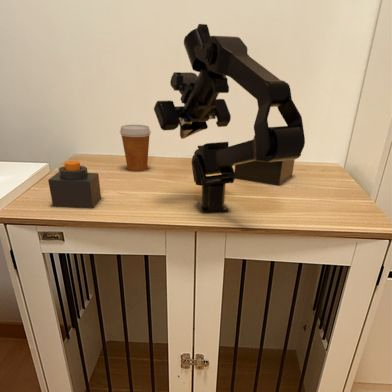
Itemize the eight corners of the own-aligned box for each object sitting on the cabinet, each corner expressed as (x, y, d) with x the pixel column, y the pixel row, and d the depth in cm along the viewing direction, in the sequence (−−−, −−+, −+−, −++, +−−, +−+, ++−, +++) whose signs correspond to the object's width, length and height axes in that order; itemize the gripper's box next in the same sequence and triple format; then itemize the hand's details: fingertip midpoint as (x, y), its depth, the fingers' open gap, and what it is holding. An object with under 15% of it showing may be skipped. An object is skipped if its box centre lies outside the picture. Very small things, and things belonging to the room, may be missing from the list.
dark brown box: (249, 169, 135) (251, 147, 131) (292, 176, 130) (295, 153, 126) (234, 178, 126) (235, 154, 122) (279, 185, 121) (282, 160, 117)
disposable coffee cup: (157, 170, 131) (156, 128, 124) (130, 173, 127) (127, 130, 120) (143, 163, 138) (141, 123, 130) (117, 166, 133) (114, 125, 126)
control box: (101, 198, 106) (97, 165, 102) (93, 208, 100) (88, 173, 95) (63, 196, 107) (57, 163, 102) (52, 206, 100) (46, 171, 96)
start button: (82, 168, 100) (81, 161, 99) (78, 172, 97) (77, 164, 96) (68, 168, 100) (66, 160, 99) (63, 171, 97) (62, 163, 96)
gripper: (228, 59, 96) (202, 107, 110) (155, 57, 88) (138, 110, 102) (244, 101, 95) (216, 145, 109) (173, 104, 87) (152, 150, 101)
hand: (181, 137), depth 105 cm, fingers closed
